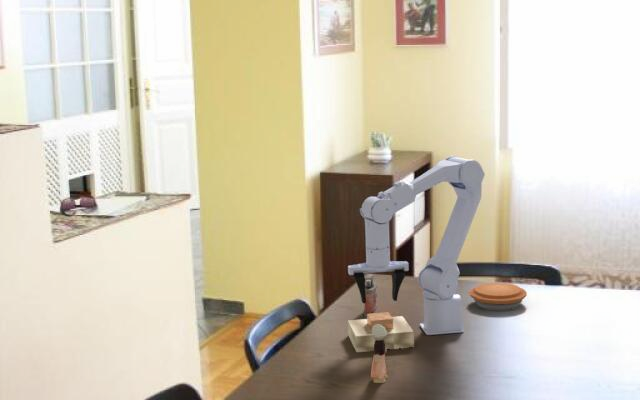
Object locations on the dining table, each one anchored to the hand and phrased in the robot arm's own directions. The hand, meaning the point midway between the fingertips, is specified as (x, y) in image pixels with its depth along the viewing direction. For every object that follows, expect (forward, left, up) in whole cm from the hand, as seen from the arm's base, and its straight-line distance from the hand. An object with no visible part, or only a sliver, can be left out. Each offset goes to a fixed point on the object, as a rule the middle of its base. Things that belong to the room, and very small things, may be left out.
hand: (379, 300), depth 218 cm
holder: (0, 0, -10) cm, 10 cm away
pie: (-37, -21, -11) cm, 44 cm away
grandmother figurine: (+5, +24, -11) cm, 27 cm away
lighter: (-2, -23, -11) cm, 25 cm away
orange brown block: (0, 0, -10) cm, 10 cm away
